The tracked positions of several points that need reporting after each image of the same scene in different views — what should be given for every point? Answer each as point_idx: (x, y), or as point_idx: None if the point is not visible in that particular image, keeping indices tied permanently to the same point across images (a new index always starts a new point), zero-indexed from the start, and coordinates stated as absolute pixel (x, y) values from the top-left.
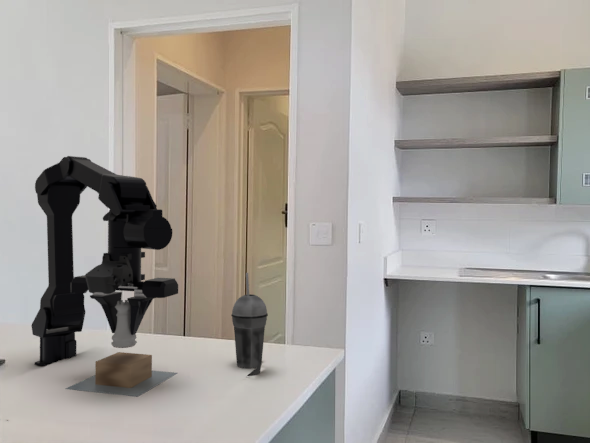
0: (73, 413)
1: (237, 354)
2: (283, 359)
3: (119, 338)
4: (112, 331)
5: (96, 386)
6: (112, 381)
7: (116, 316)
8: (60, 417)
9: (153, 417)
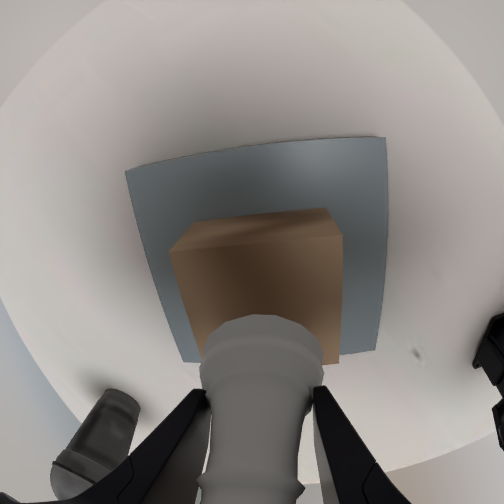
0: (251, 45)
1: (114, 420)
2: (136, 443)
3: (240, 346)
4: (321, 390)
5: (307, 190)
6: (259, 219)
7: (322, 476)
8: (260, 14)
9: (67, 132)
